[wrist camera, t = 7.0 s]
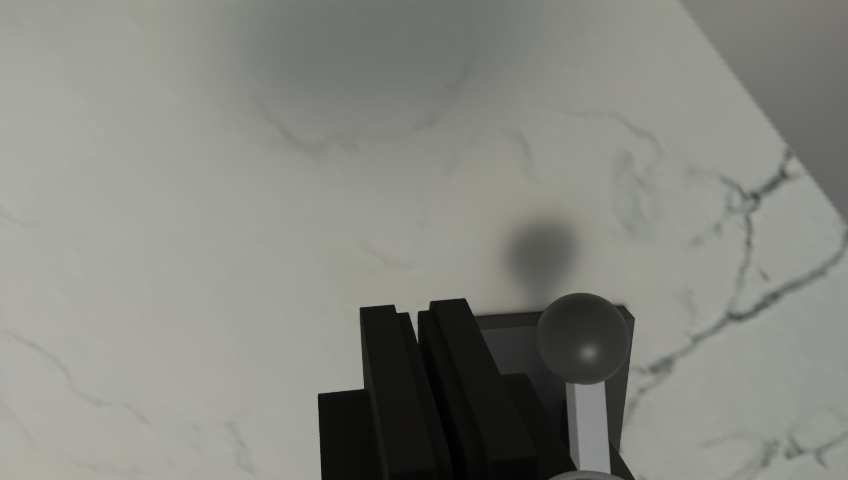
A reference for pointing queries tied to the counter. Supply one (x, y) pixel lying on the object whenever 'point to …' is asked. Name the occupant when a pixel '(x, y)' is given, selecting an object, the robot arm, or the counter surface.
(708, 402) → the counter surface
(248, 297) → the counter surface
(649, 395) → the counter surface
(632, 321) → the ball-topped lever switch base
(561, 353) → the ball-topped lever switch
